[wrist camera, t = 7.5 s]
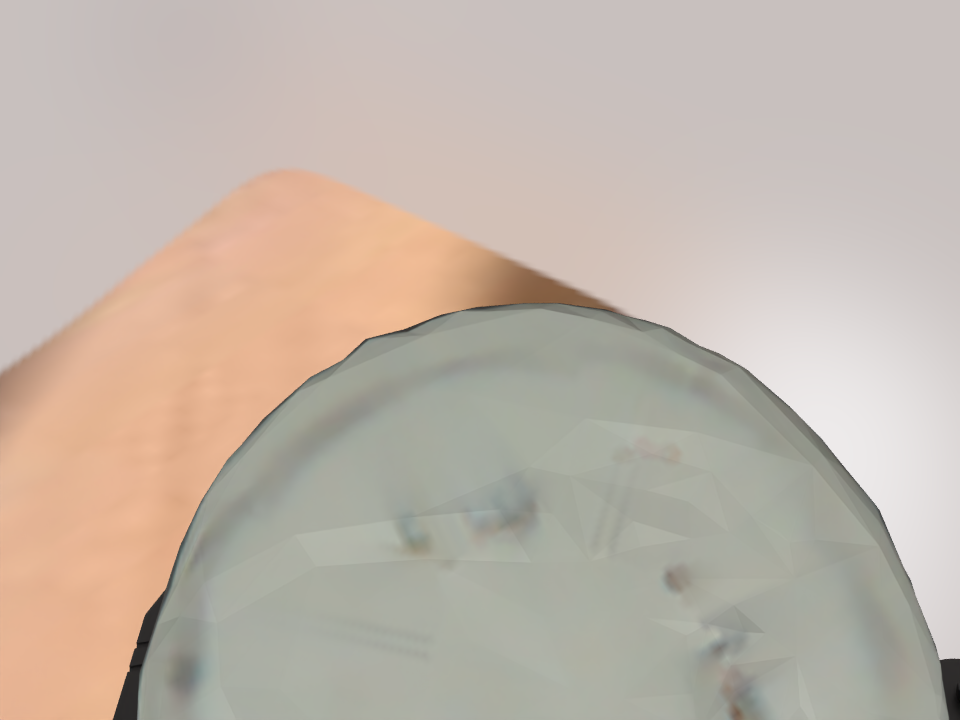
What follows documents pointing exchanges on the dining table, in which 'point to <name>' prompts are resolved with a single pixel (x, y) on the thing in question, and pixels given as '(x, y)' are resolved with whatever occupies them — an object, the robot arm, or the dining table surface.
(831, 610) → the sauce bottle
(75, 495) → the dining table surface
